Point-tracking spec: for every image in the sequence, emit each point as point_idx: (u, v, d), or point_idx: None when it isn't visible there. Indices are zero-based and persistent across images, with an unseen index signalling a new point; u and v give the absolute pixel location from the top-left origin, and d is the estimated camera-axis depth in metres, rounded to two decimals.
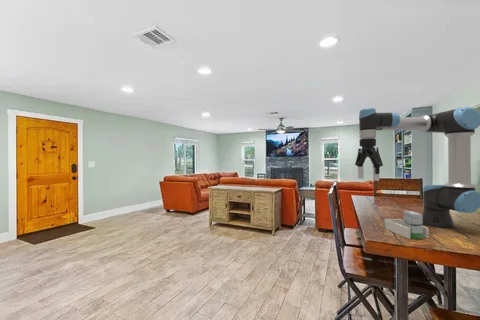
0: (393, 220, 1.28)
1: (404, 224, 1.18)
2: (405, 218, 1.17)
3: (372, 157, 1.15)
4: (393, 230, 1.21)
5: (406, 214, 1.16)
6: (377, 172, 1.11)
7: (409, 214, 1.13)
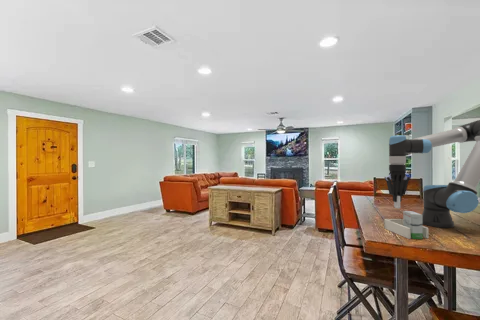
0: (393, 220, 1.28)
1: (404, 224, 1.18)
2: (404, 218, 1.17)
3: (393, 185, 1.25)
4: (393, 230, 1.21)
5: (406, 214, 1.16)
6: (393, 200, 1.25)
7: (409, 214, 1.13)
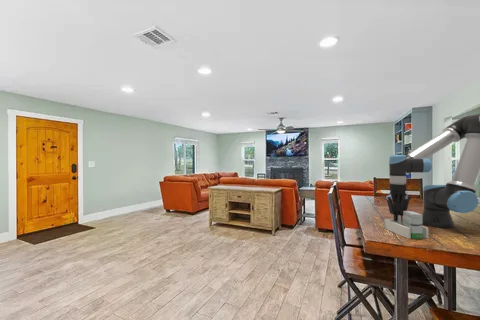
0: (393, 220, 1.28)
1: (404, 224, 1.18)
2: (404, 218, 1.17)
3: (393, 204, 1.25)
4: (393, 230, 1.21)
5: (406, 214, 1.16)
6: (394, 219, 1.25)
7: (409, 214, 1.13)
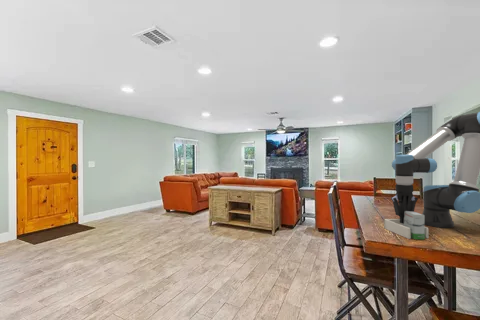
0: (393, 220, 1.28)
1: (405, 224, 1.17)
2: (406, 218, 1.16)
3: (399, 205, 1.20)
4: (393, 230, 1.21)
5: (408, 214, 1.15)
6: (400, 221, 1.20)
7: (411, 214, 1.12)
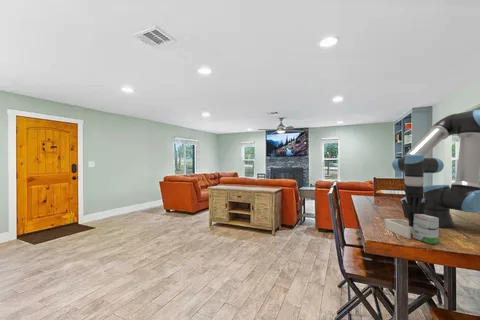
0: (393, 220, 1.28)
1: (415, 228, 1.10)
2: (417, 221, 1.10)
3: (409, 208, 1.14)
4: (393, 230, 1.21)
5: (420, 217, 1.08)
6: (409, 224, 1.14)
7: (425, 217, 1.06)
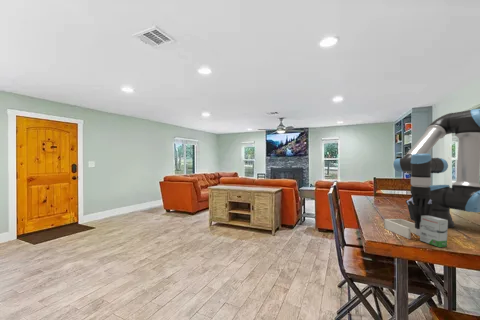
0: (393, 220, 1.28)
1: (423, 230, 1.06)
2: (424, 223, 1.06)
3: (415, 209, 1.10)
4: (393, 230, 1.21)
5: (428, 219, 1.04)
6: (415, 226, 1.10)
7: (434, 220, 1.01)
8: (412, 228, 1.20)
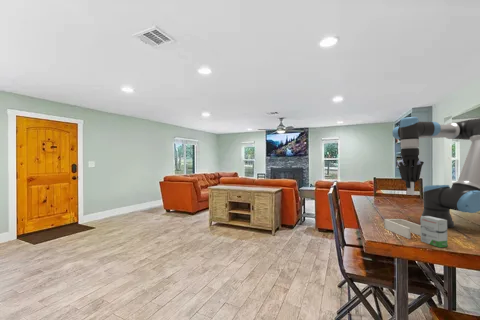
0: (393, 220, 1.28)
1: (423, 231, 1.06)
2: (424, 224, 1.06)
3: (405, 170, 1.17)
4: (393, 230, 1.21)
5: (427, 220, 1.05)
6: (406, 186, 1.17)
7: (433, 220, 1.02)
8: (412, 228, 1.20)
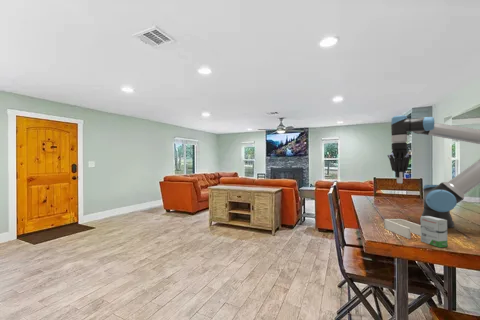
0: (393, 220, 1.28)
1: (423, 231, 1.06)
2: (424, 224, 1.06)
3: (395, 162, 1.35)
4: (393, 230, 1.21)
5: (427, 220, 1.05)
6: (396, 176, 1.34)
7: (433, 220, 1.02)
8: (412, 228, 1.20)
